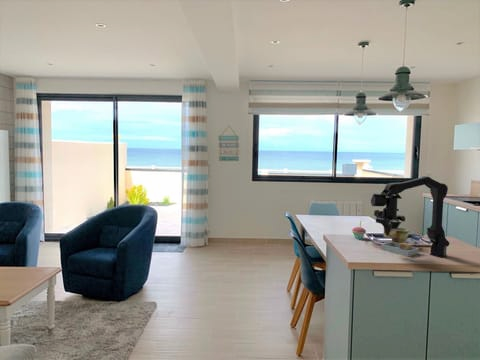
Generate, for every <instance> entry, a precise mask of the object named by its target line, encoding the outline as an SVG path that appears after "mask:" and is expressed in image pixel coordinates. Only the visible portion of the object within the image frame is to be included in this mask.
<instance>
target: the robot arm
mask: <svg viewBox="0 0 480 360" xmlns="http://www.w3.org/2000/svg"><path fill="white" fill-rule="evenodd" d="M420 186H426V188H428V189H429V191H430V194H431V195H430V196H431V197H432V211H431V212H432V216H431V226H429V227H427V228H426V235H427V237H428V239H429V241H430V243H431V245H430V253H429V255H431V256H434V257H439V258H445V257H448V254H447V249H448V247H449V246H450V241H449V240H448V239H447V238H446V232H445V230H444V227H443V215H444V214H443V213H444V200H445V198H446V197H447V194H448V190H449V188H448V185H447V184H446V183H443V182H442V183H441V182H440V181H437V180H435V179H433V178H431V177H430V176H420V177H417V178H413V179H410V180H406V181H402V182H390V183H389V182H388V183H386V184H385V186H384V188H383V190H382V192H381V193H372V195H371V199H370V204H371V207H383V208H382V209H383V210H379V209H375V210H374V211H373V215H374V217H375V223H377V224H381V226H382V227H383V231H384V230H385V233H386V235H387V236H388V235H389V233H390V230H391V228H393V229H396V230H397V228H399V227H400V225H401V224H402V222H405V221H406V217H405V216H404V215H402V214H401V215H400V214H398V212H399V210H400V209H399V208H398V200H399V199H400V200H401V199H403V197H401V195H399V194H401V193H403V192H404V191H405V190H409V189H414V188H417V187H420Z"/></svg>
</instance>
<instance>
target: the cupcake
mask: <svg viewBox="0 0 480 360" xmlns="http://www.w3.org/2000/svg"><path fill="white" fill-rule="evenodd" d="M351 233H352V234H353V236H354V238H355V239H357V240H362V239H363V238H364V236H365V235H366V234H367V230H366V228H363V227H362V220H360V221H359V226H356V227H354V228H352V229H351Z"/></svg>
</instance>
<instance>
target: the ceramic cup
mask: <svg viewBox="0 0 480 360" xmlns="http://www.w3.org/2000/svg"><path fill="white" fill-rule="evenodd" d="M409 232H410V229H408V228H404V227H403V228H402V227H398V228H397V230H396V237H395V238H391V242H396V243H407V241H408V236H409Z"/></svg>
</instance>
